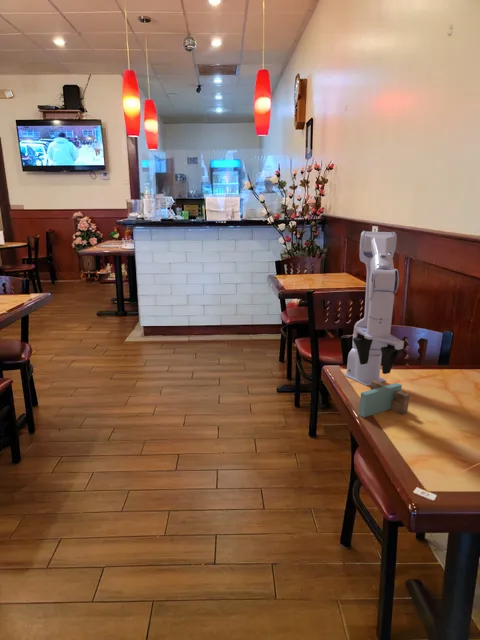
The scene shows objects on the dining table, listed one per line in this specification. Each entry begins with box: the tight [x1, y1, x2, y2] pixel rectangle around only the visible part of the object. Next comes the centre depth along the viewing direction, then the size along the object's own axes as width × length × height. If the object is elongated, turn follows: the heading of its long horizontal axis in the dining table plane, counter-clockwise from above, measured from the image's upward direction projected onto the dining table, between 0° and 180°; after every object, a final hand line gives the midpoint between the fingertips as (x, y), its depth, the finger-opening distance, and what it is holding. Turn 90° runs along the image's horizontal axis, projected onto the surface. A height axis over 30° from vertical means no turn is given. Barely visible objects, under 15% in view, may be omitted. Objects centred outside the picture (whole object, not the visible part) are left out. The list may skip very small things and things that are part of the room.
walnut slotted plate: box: [370, 380, 410, 415], centre depth 119 cm, size 11×2×5 cm, turn 31°
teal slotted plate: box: [358, 382, 403, 418], centre depth 116 cm, size 2×13×6 cm, turn 122°
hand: (374, 368), depth 118 cm, fingers open, 7 cm apart
